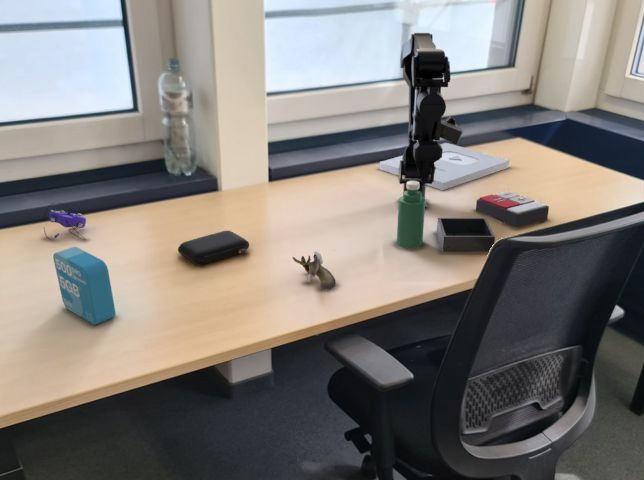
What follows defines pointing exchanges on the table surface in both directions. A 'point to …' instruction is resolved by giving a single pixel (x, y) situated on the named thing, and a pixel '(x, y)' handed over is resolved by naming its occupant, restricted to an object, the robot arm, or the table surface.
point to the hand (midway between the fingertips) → (422, 177)
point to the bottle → (411, 217)
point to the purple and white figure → (67, 220)
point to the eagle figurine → (317, 271)
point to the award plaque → (455, 166)
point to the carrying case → (213, 247)
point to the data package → (84, 285)
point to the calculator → (513, 208)
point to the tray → (465, 234)
